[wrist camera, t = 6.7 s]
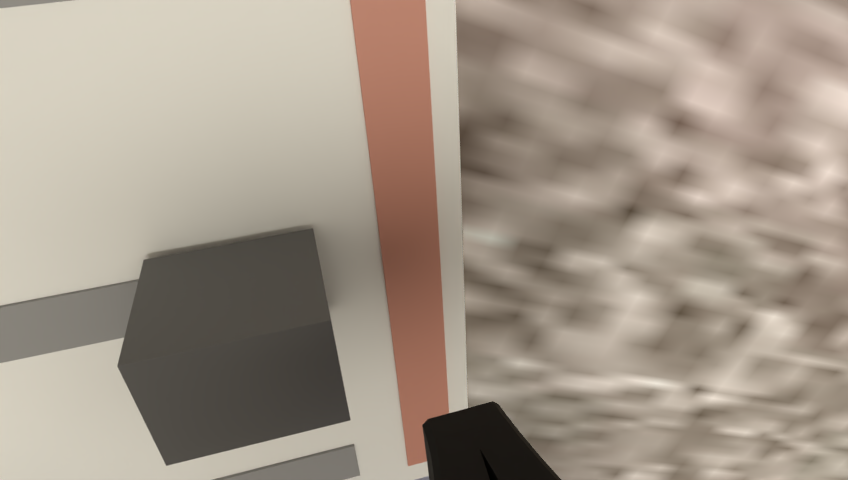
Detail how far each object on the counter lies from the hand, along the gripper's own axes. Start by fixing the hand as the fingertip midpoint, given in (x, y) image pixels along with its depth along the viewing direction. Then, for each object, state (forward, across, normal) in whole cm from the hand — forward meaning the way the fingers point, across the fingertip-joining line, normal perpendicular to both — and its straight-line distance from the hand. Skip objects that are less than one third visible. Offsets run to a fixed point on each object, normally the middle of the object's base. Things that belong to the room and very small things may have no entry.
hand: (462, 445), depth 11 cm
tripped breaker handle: (+6, +4, 0) cm, 7 cm away
